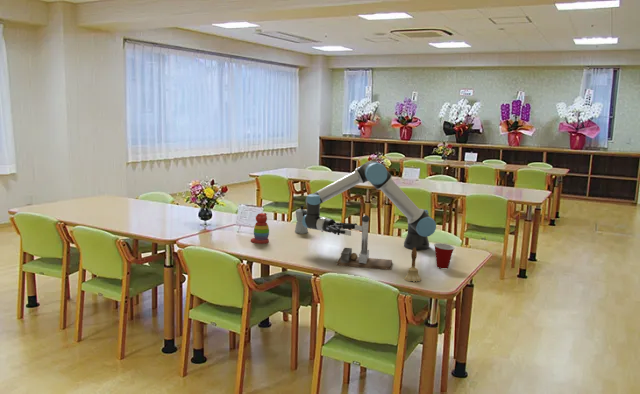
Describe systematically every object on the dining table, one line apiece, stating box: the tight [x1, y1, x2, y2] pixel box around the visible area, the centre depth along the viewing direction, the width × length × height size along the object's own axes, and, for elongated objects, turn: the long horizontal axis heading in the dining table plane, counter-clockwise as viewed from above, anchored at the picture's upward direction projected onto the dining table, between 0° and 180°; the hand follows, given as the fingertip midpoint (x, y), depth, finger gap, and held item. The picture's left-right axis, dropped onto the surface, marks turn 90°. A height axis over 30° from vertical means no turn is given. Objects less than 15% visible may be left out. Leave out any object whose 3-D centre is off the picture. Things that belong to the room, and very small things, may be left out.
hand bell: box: [403, 248, 422, 283], centre depth 264 cm, size 8×8×16 cm
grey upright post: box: [358, 214, 370, 264], centre depth 288 cm, size 4×11×25 cm, turn 168°
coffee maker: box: [294, 205, 309, 235], centre depth 357 cm, size 15×9×18 cm, turn 23°
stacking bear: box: [250, 212, 270, 245], centre depth 330 cm, size 11×10×18 cm
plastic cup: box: [433, 242, 456, 269], centre depth 287 cm, size 11×11×12 cm
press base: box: [336, 247, 393, 271], centre depth 290 cm, size 28×14×6 cm, turn 78°
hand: (358, 231), depth 290 cm, fingers open, 13 cm apart
